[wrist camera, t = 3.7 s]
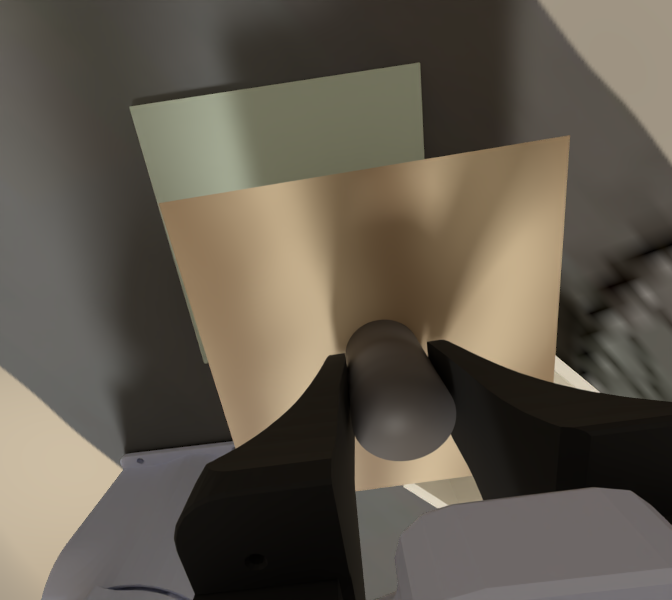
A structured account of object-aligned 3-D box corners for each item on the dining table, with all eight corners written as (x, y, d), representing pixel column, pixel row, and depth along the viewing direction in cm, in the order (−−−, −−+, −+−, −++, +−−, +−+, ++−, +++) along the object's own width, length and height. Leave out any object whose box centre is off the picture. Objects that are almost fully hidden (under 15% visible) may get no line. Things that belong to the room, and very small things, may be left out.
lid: (256, 490, 16) (227, 606, 12) (169, 202, 12) (68, 207, 7) (537, 452, 16) (622, 557, 11) (553, 139, 11) (703, 102, 7)
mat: (206, 360, 22) (204, 363, 21) (133, 108, 17) (129, 106, 17) (430, 332, 21) (432, 334, 21) (417, 65, 16) (420, 62, 16)
